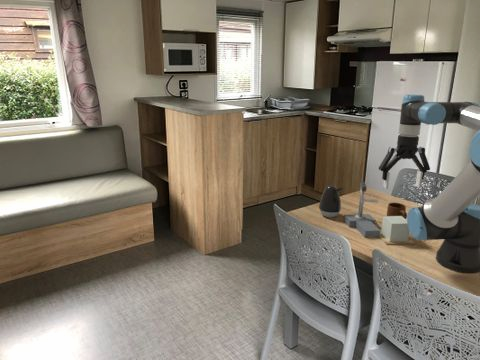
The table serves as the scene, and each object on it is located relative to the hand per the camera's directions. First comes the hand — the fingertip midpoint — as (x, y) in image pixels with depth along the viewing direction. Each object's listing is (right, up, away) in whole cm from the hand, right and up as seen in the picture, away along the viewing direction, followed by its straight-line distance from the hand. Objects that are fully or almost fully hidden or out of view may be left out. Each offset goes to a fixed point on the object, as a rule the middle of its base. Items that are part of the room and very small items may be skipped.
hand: (401, 187), depth 154 cm
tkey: (-8, -14, +20) cm, 25 cm away
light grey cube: (0, -21, +7) cm, 22 cm away
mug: (+6, -18, +19) cm, 27 cm away
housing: (-10, -19, +17) cm, 27 cm away
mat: (0, -22, +7) cm, 23 cm away
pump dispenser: (-22, -14, +31) cm, 40 cm away
